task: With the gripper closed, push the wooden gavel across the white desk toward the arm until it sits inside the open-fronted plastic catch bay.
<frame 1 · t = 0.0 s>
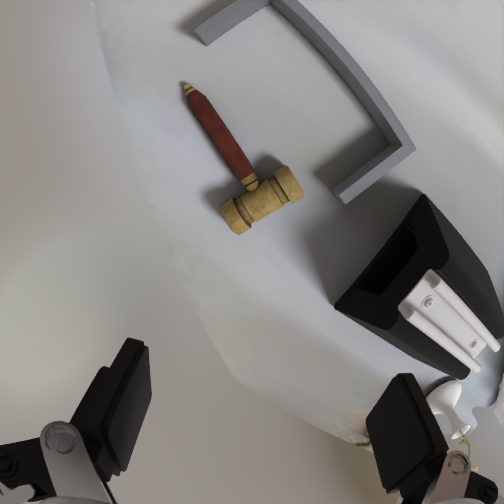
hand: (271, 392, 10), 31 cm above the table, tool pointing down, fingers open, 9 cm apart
catch bay: (300, 91, 33), on the table
gavel: (229, 146, 37), on the table
device stand: (419, 285, 43), on the table
flower in vase: (440, 393, 54), on the table
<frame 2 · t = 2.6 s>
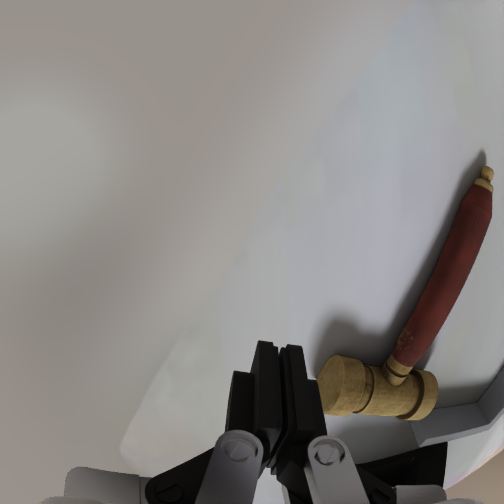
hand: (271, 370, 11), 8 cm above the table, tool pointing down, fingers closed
gavel: (423, 292, 19), on the table
device stand: (360, 485, 32), on the table
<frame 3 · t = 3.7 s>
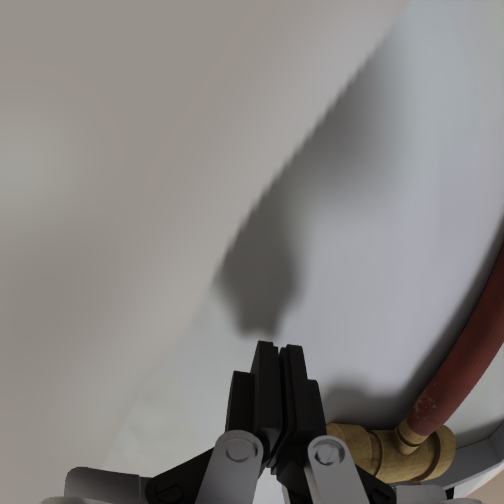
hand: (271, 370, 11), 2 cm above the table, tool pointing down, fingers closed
gavel: (450, 342, 13), on the table
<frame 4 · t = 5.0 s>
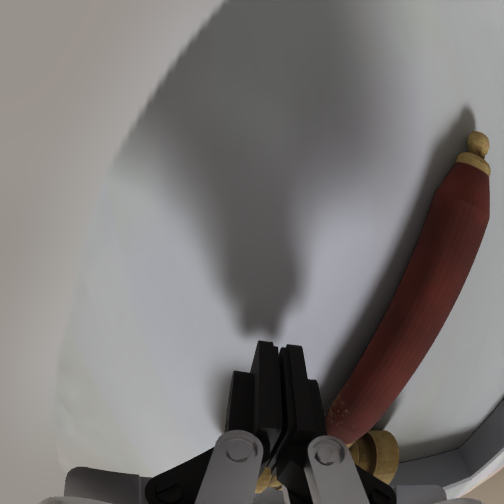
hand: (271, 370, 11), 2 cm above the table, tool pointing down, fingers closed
gavel: (375, 337, 13), on the table
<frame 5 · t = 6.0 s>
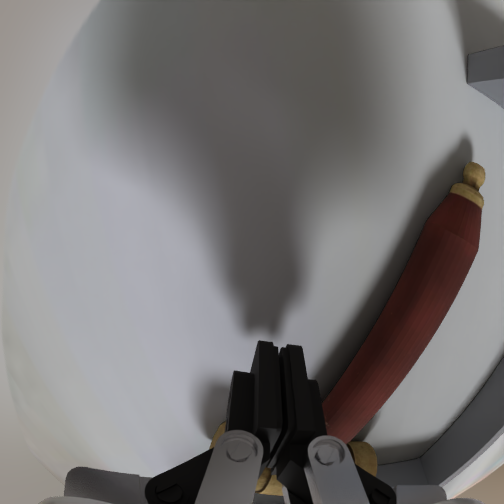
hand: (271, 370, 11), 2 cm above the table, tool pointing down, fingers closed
catch bay: (455, 354, 13), on the table
gavel: (359, 354, 13), on the table, touching gripper
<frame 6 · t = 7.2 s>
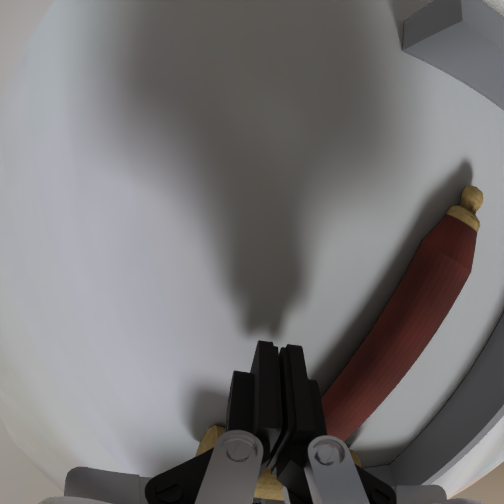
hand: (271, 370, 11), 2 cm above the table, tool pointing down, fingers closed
catch bay: (412, 356, 12), on the table
gavel: (348, 366, 13), on the table
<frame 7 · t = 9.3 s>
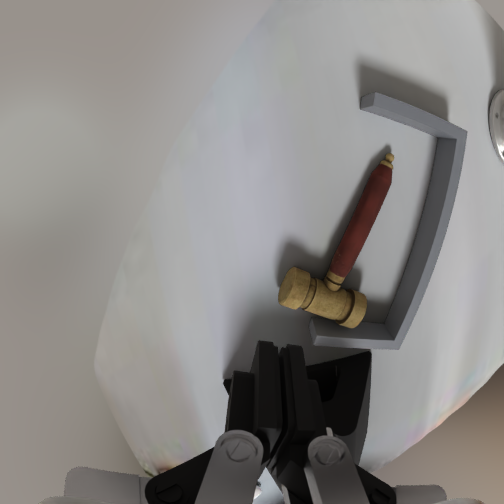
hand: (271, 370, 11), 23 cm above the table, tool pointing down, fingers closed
catch bay: (376, 228, 32), on the table
gavel: (350, 231, 33), on the table
device stand: (305, 408, 44), on the table
flower in vase: (239, 485, 58), on the table
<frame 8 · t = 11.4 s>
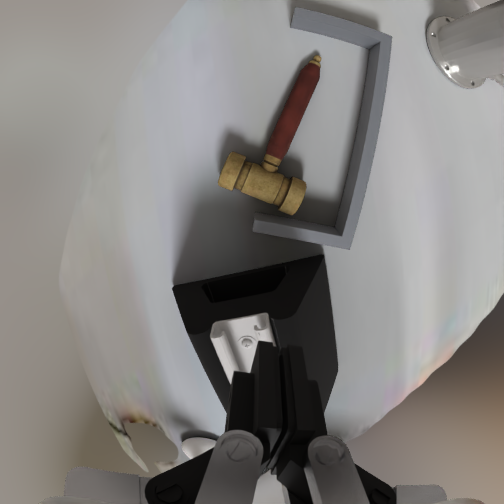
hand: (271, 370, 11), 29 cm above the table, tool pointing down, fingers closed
catch bay: (312, 123, 34), on the table
white stepped block: (278, 483, 69), on the table
gavel: (286, 124, 34), on the table
device stand: (263, 331, 46), on the table
flower in vase: (204, 445, 60), on the table
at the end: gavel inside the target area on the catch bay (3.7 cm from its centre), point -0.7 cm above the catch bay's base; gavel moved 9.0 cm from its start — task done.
